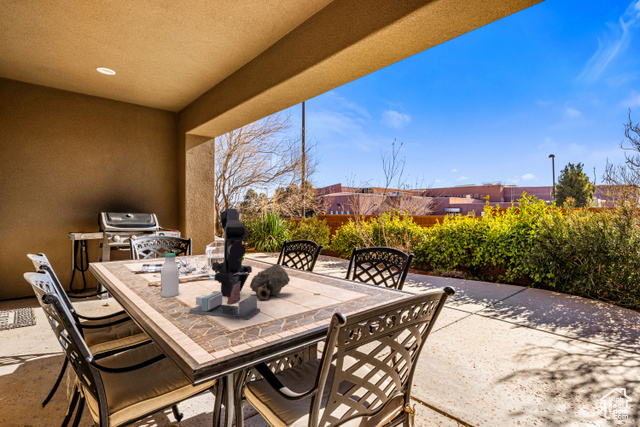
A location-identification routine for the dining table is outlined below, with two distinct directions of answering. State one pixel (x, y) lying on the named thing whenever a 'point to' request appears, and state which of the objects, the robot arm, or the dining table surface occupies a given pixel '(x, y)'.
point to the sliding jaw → (209, 301)
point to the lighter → (235, 292)
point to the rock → (269, 281)
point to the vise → (232, 309)
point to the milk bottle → (169, 277)
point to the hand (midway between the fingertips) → (234, 294)
